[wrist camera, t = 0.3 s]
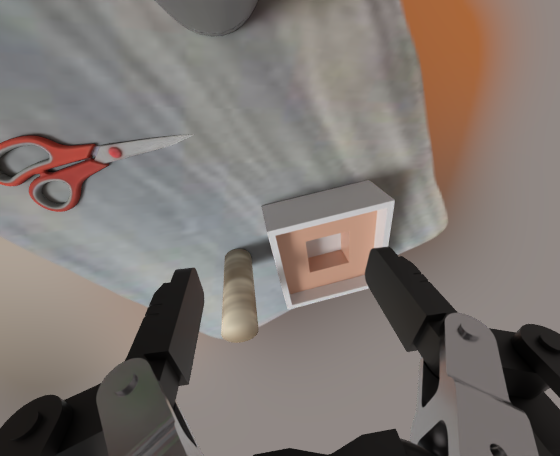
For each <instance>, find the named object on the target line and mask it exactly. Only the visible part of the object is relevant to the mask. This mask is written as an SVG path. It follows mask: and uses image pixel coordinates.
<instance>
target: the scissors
mask: <svg viewBox="0 0 560 456" xmlns="http://www.w3.org/2000/svg"><path fill="white" fill-rule="evenodd" d="M193 135H194V134H191V135H174V136H166V137H157V138H149V139H142V140H136V141H129V142H123V143H116V144H108V145H101V146H96V145H95V144H86V145H74V146H68V145H62V144H58V143H56V142H54V141H51V140H49V139H47V138H44V137H40V136H21V137H16V138H13V139H9V140H7V141H4V142H2V143H0V157H1V156H2V155H4V154H5V153H6V152H8V151H10V150H12V149H14V148H17V147H21V146H26V145H35V146H38V147H41V148H42V149H44V150H45V151H46V152H47V153H48V154H49V156H50V159H47V160H44V161H41V162H38V163H36V164H33V165H31V166H29V167H27V168H25V169H24V170H22V171H20V172H19V173H17V174H16V175H15V176H14V177H10V176H7V175H6V174H4V173H3V172H2V171H1V170H0V184H2V185H5V186H17V185H20V184H22V183H23V182H25V181H26V180H27V179H29V178H30V177H32V176H33V175H35V174H40V176H39V177H37V178H36V179H34V180H33V182H32V183H31V184H30V186H29V194H30V196H31V198H32V199H33V200H34V201H35V202H36V203H37V204H38V205H40V206H41V207H43V208H45V209H48V210H51V211H57V212H62V211H67V210H70V209H71V208H73V207H74V206H75V205H76V204H77V203H78V201H79V199H80V195H81V187H82V184H83V182H84V181H85V180H86V179H87V178H88V177H89V176H91V175H93V174H94V173H96V172H98V171H100V170H101V169H103V168H105V167H107V166H109V164H108V163H110V162H113V161H116V160H121V159H125V158H128V157H131V156H135V155H139V154H143V153H146V152H150V151H154V150H157V149H161V148H164V147H168V146H171V145H174V144H176V143H178V142H180V141H182V140H184V139H186V138H189V137H191V136H193ZM92 155H93V156H95V159H93V158H92ZM81 160H85V161H82V162H80V163H78V164H75V165H72V166H69V167H66V168H64V169H61V170H58V171H56V172H50V171H48V170H49V169H51V168H54V167H58V166H62V165H65V164H69V163H72V162H77V161H81ZM51 181H63V182H65V183H66V184H67V185H68V186H69V188H70V196H69V199H68V201H67V202H66V203H63V204H57V203H54V202H51V201H49V200H48V199H46V198H45V197H44V195H43V194H42V187H43V186H44V184H46V183H48V182H51Z"/></svg>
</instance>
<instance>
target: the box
mask: <svg viewBox="0 0 560 456" xmlns="http://www.w3.org/2000/svg"><path fill="white" fill-rule="evenodd" d="M394 203H395V200H394V199H393V198H392V197H390V196H389V195H388V194H386V193H385V192H384V191H383V190H381V189H380V188H379V187H377V186H376V185H375V184H374V183H372V182H371V181H370V180H366V181H362V182H358V183H354V184H350V185H346V186H342V187H338V188H334V189H329V190H325V191H321V192H317V193H313V194H309V195H305V196H301V197H297V198H293V199H288V200H284V201H280V202H276V203H272V204H268V205H264V206H262V211H263V216H264V220H265V225H266V230H267V234H268V238H269V241H270V245H271V249H272V253H273V256H274V260H275V264H276V268H277V271H278V275H279V279H280V283H281V286H282V290H283V294H284V298H285V301H286V305H287V309H288V310H289V309H292V308H296V307H300V306H304V305H308V304H311V303H315V302H319V301H323V300H327V299H330V298H334V297H338V296H342V295H345V294H349V293H353V292H357V291H361V290H365V289H369V287H368V285H367V283H366V280H365V269H366V265H367V261H368V257H369V253H370V250H371V249H372V248H380V247H388V244H389V237H390V230H391V224H392V217H393V210H394Z"/></svg>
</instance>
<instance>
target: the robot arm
mask: <svg viewBox="0 0 560 456" xmlns="http://www.w3.org/2000/svg"><path fill="white" fill-rule="evenodd" d="M155 1H156V2H157V3H158V4H159V5H160V6H161V7H162V8H163V9H164V10H165V11H166V12H167V13H169V14H170V15H171V16H172V17H173V18H174V19H175V20H176V21H178V22H179V23H180V24H182V25H183V26H184V27H186V28H187V29H189V30H191V31H194V32H196V33H198V34H201V35H206V36H223V35H226V34H228V33H231V32H233V31H235V30H236V29H238V28H239V27H240V26H242V25H243V24H244V23H245V21H246V20H247V19H248V18H249V17H250V15H251V13H252V11H253V10H254V8H255V6H256V4H257V1H258V0H155ZM365 280H366V283H367V285H368V287H369V289H370V290H371V292H372V294H373V295H374V297H375V298H376V300H377V302H378V304H379V305H380V307H381V309H382V310H383V312H384V314H385V315H386V317H387V319H388V321H389V322H390V324H391V326H392V327H393V329H394V331H395V332H396V334H397V336H398V338H399V339H400V341H401V343H402V344H403V346H404V348H405V350H406V351H407V352H410V351H416V350H418V351H419V353H420V354H421V358H420V364H419V380H418V396H417V410H416V415H415V418H414V421H413V424H412V429H411V435H410V436H411V437H410V441H407V440H403V439H400V438H399V436H398V433H397V431H396V429H391V430H386V431H381V432H375V433H370V434H364V435H361V436H359V437H358V438H356V439H355V440H353V441H352V442H350V443H348V444H347V445H345V446H343V447H342V448H341V449H339V450H337V451H335V452H334V453H332V454H329V455H325V454H320V453H314V452H308V451H303V450H297V449H292V448H288V449H282V450H277V451H271V452H266V453H261V454H255V455H253V456H560V409H559V408H558V407H557V406H556V405H555V404H554V403H553V402H552V400H551V399H550V398H549V397H548V396H547V395H546V394H545V393H544V391H546V390H547V389H549V388H551V389H552V390H553V391H554V392H555V393H556V394H557V395H558V397H559V398H560V334H558V333H557V332H555V331H553V330H551V329H548V328H546V327H543V326H539V325H535V324H526V325H524V326H522V327H521V328H520V329H519V330H518V331H517V332H516V333H515V332H509V331H502V330H496V329H490V328H487V326H486V325H484V324H483V323H482V322H480V321H479V320H477V319H475V318H473V317H471V316H469V315H466V314H462V313H457V311H456V310H455V309H454V308H453V307H452V306H451V305H450V304H449V303H448V301H447V300H446V299H445V298H444V297H443V296H442V295H441V294H440V293H439V292H438V290H436V288H435V287H434V286H433V285H432V284H431V283H430V282H428V279H427V278H426V277H425V276H424V275H423V274H421V272H420V271H419V270H418V268H417V267H416V266H415V265H414V264H413V263H411V262H410V261H408V260H407V259H405V258H404V257H402V256H400V257H398V255H397V254H396V253H395V252H394V251H393V250H392V249H391V248H390V247H380V248H372V249H371V250H370V253H369V257H368V261H367V265H366V269H365ZM203 307H204V292H203V289H202V286H201V283H200V280H199V277H198V274H197V271H196V269H195V268H186V269H177V270H175V272H174V274H173V277H172V280H171V282H170V283H163V285H162V286H161V287H160V288H159V289H158V290H157V291H156V292H155V293H154V295H153V298H152V300H151V302H150V305H149V307H148V309H147V312H146V314H145V317H144V319H143V321H142V323H141V326H140V328H139V330H138V333H137V335H136V337H135V339H134V342H133V344H132V346H131V349H130V351H129V353H128V356H127V358H126V360H125V361H124V362H122V363H121V364H119V365H118V366H116V367H115V368H114V369H113V370H112V371H111V372H110V373H109V374H108V375H107V376H106V377H105V378H104V380H103V381H102V383H100V384H98V385H97V386H94V387H92V388H90V389H88V390H86V391H83V392H81V393H79V394H77V395H75V396H72V397H70V398H68V399H66V400H62V399H61V398H59V397H58V396H55V395H45V396H42V397H39V398H37V399H35V400H33V401H31V402H29V403H28V404H26V405H24V406H23V407H22V408H20V409H19V410H18V411H17V412H16V413H15V414H13V415H12V416H11V417H10V418H9V419H8V420H7V421H6V422H5V423H4V425H3V426H2V427H1V428H0V456H204V455H203V453H202V452H201V450H200V448H199V446H198V444H197V442H196V440H195V438H194V436H193V434H192V432H191V430H190V428H189V426H188V423H187V422H186V419H185V417H184V415H183V413H182V411H181V409H180V407H179V405H178V403H177V401H176V395H177V391H178V386H181V385H188V384H189V380H190V375H191V370H192V365H193V359H194V354H195V349H196V343H197V338H198V333H199V328H200V322H201V317H202V312H203Z"/></svg>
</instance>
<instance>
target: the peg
mask: <svg viewBox="0 0 560 456" xmlns="http://www.w3.org/2000/svg"><path fill="white" fill-rule="evenodd" d="M257 333H258V321H257V311H256V300H255V290H254V280H253V270H252V260H251V255H250V253H249V252H248V251H246V250H244V249H234V250H231V251H229V252H228V253H227V254H226V256H225V265H224V287H223V309H222V330H221V335H222V337H223V339H225V340H227V341H229V342H236V343H237V342H245V341H248V340H250V339H252V338H254V336H256V335H257Z"/></svg>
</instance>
